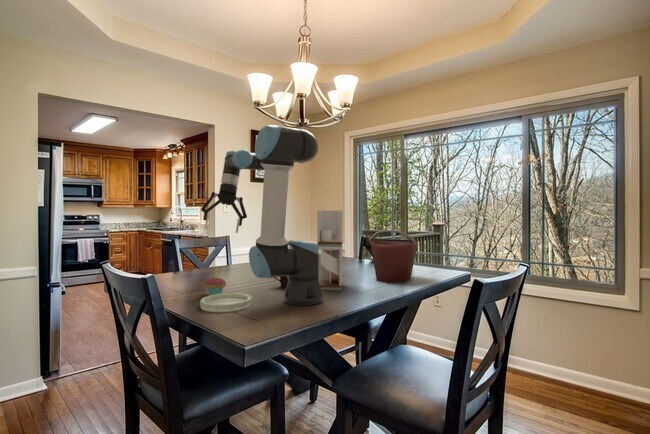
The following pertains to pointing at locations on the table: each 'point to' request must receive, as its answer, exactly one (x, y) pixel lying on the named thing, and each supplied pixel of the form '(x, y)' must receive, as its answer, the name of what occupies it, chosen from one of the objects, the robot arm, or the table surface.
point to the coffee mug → (283, 281)
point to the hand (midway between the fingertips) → (221, 230)
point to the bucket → (393, 259)
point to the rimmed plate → (225, 302)
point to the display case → (330, 247)
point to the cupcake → (215, 284)
